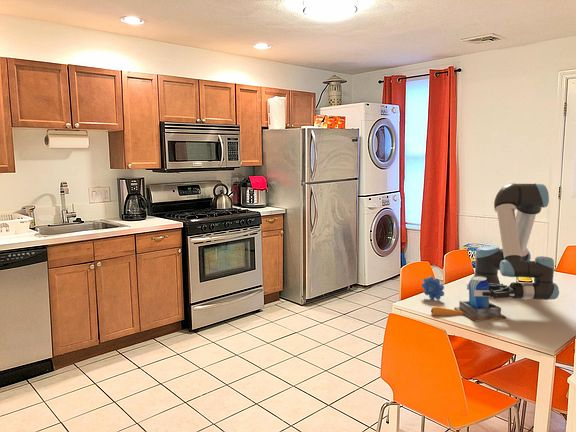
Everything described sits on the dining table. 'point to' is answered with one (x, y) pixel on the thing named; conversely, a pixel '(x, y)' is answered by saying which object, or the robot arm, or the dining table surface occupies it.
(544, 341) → the dining table surface
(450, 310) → the carrot
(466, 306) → the holder
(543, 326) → the dining table surface
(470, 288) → the beer can
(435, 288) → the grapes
